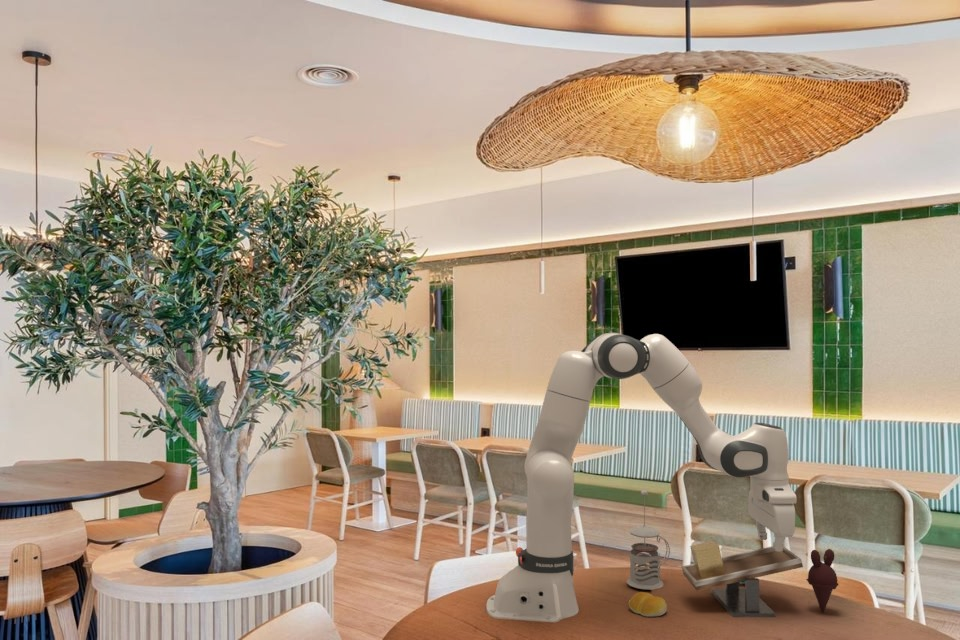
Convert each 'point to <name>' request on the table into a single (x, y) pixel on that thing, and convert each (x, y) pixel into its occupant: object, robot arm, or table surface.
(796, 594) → the table surface
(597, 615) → the table surface
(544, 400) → the robot arm
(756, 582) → the pivot stand
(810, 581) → the icecream
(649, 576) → the french press
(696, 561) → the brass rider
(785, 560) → the balance beam
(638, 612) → the bread roll
